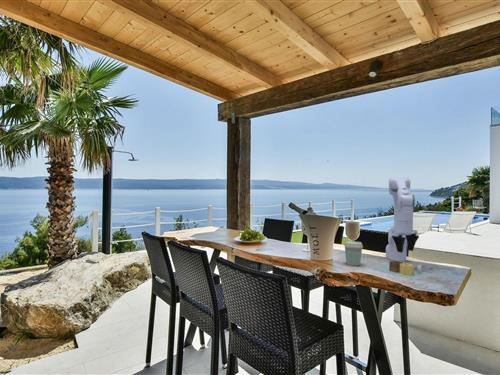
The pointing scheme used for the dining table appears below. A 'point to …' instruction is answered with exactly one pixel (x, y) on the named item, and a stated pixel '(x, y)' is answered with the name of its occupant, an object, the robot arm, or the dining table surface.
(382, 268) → the gear board
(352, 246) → the coffee cup
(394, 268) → the gear
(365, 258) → the dining table surface
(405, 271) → the pale yellow block
